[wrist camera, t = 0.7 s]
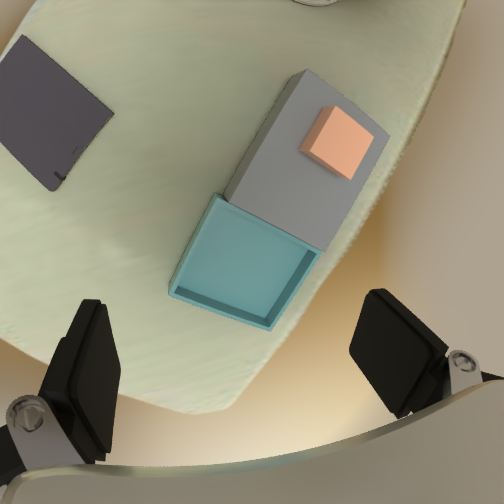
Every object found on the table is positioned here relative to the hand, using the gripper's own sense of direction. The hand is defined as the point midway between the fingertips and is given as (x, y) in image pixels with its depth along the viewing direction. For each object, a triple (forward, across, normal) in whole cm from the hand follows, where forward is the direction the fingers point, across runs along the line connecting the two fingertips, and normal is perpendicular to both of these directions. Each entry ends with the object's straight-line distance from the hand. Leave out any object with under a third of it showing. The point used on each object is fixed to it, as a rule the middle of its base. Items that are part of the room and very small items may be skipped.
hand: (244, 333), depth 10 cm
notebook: (+29, +23, -12) cm, 39 cm away
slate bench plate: (+28, -13, -4) cm, 32 cm away
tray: (+28, -6, +10) cm, 31 cm away
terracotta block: (+23, -14, -7) cm, 28 cm away
